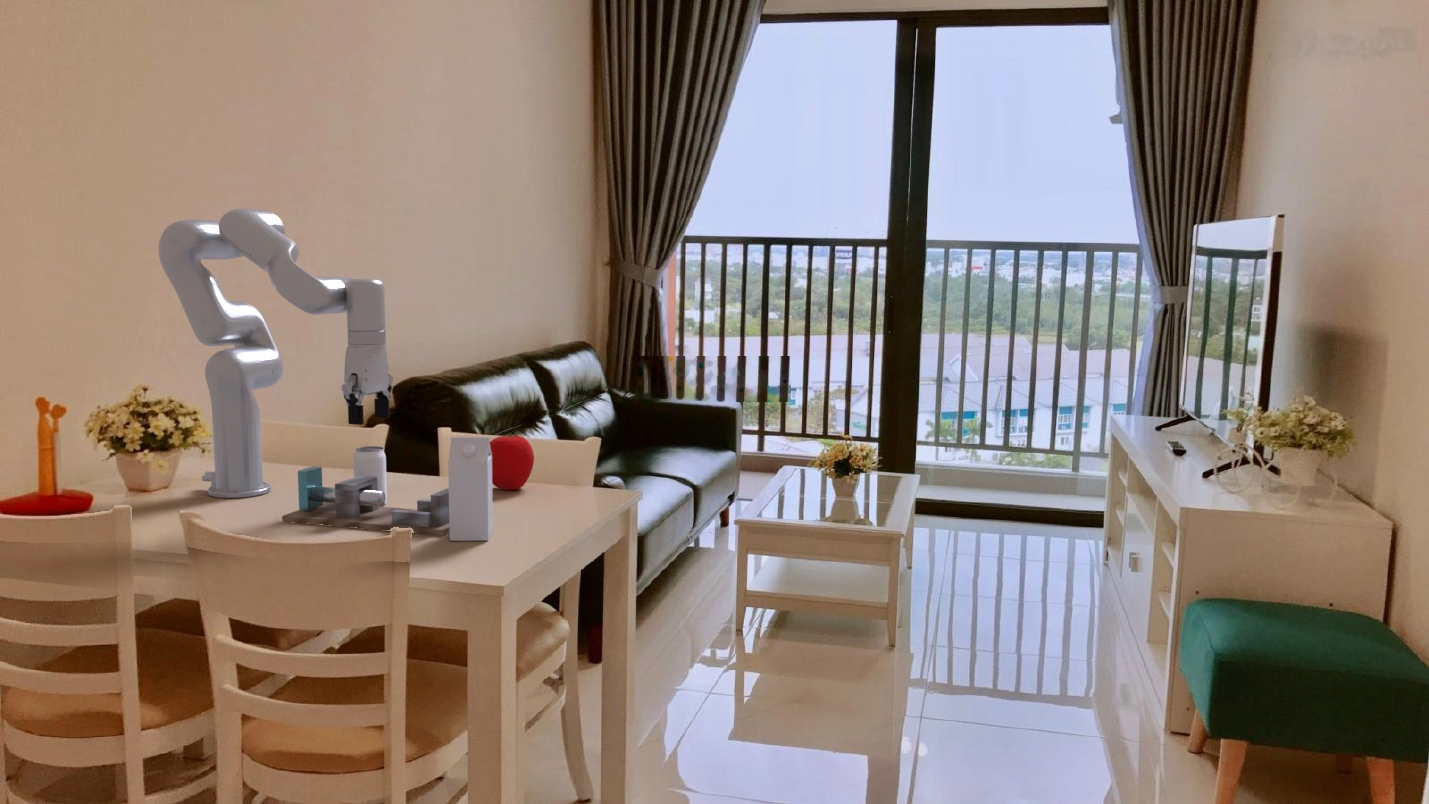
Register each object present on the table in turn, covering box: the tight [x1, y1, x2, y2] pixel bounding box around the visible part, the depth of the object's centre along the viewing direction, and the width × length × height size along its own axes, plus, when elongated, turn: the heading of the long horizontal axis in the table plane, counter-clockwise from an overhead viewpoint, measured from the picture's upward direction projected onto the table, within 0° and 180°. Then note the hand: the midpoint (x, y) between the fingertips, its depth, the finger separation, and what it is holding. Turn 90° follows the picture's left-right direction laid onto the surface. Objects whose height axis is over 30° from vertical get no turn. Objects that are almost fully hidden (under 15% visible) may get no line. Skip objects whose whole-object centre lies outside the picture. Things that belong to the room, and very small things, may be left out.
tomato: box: [490, 432, 535, 491], centre depth 246 cm, size 11×11×13 cm
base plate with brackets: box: [281, 476, 450, 537], centre depth 216 cm, size 35×13×8 cm, turn 75°
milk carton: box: [447, 436, 494, 542], centre depth 205 cm, size 7×7×19 cm
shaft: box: [297, 466, 386, 511], centre depth 218 cm, size 17×5×8 cm, turn 75°
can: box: [353, 445, 388, 506], centre depth 229 cm, size 6×6×12 cm
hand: (369, 420), depth 228 cm, fingers open, 9 cm apart
